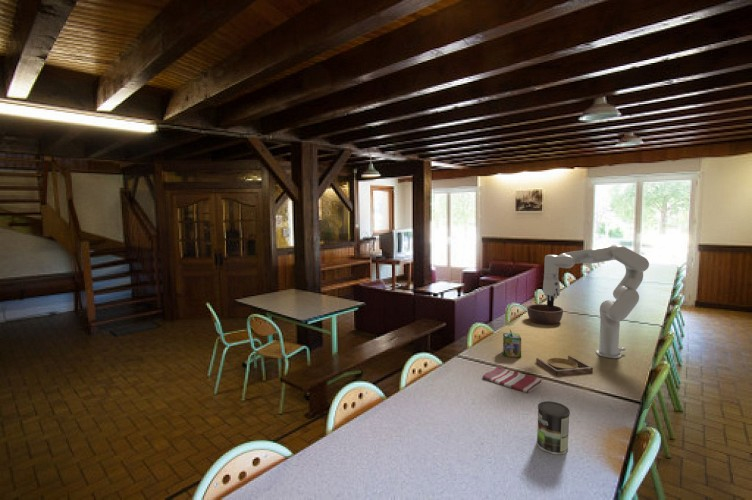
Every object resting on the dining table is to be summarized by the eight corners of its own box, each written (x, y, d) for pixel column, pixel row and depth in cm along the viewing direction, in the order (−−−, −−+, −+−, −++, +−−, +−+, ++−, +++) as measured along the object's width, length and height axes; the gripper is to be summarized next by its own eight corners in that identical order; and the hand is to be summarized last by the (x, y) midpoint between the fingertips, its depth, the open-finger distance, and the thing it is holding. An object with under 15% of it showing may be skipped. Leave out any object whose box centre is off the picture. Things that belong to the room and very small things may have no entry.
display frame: (569, 359, 216) (569, 355, 216) (592, 372, 199) (592, 367, 199) (536, 362, 213) (536, 358, 212) (556, 375, 195) (556, 371, 195)
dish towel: (498, 369, 205) (498, 365, 205) (542, 383, 188) (542, 378, 188) (481, 379, 193) (481, 374, 193) (527, 395, 177) (528, 389, 176)
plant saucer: (542, 362, 214) (542, 357, 214) (570, 362, 213) (570, 357, 213) (553, 373, 199) (553, 368, 199) (582, 373, 198) (582, 368, 198)
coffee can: (546, 455, 132) (547, 416, 130) (531, 438, 142) (532, 401, 141) (574, 453, 133) (576, 414, 131) (558, 436, 143) (559, 400, 142)
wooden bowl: (569, 325, 280) (569, 311, 279) (534, 326, 280) (534, 312, 279) (553, 316, 305) (554, 303, 304) (521, 316, 305) (522, 304, 304)
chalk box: (521, 357, 220) (521, 332, 218) (504, 356, 222) (505, 331, 220) (518, 352, 229) (519, 327, 227) (502, 351, 231) (503, 327, 229)
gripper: (565, 277, 218) (564, 309, 220) (549, 273, 233) (548, 303, 235) (553, 278, 217) (552, 310, 219) (537, 274, 232) (536, 304, 234)
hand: (550, 306), depth 227 cm, fingers closed
